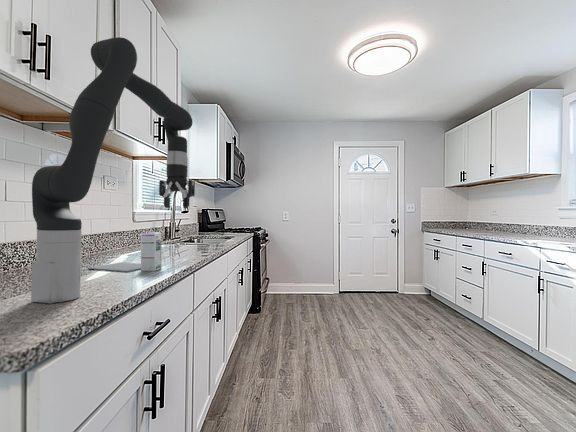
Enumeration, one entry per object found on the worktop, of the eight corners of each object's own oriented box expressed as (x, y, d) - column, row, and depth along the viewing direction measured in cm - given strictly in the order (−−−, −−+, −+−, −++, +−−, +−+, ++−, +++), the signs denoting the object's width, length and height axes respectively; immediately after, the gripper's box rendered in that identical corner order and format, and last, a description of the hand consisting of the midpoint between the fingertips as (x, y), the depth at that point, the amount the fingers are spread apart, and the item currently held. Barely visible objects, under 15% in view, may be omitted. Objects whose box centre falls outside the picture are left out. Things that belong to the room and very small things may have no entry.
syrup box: (155, 271, 126) (156, 232, 126) (140, 270, 126) (140, 232, 126) (161, 268, 132) (162, 232, 132) (146, 268, 132) (147, 231, 132)
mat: (127, 272, 122) (127, 270, 122) (87, 269, 127) (87, 267, 127) (155, 266, 138) (155, 264, 138) (119, 263, 142) (119, 262, 142)
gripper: (154, 163, 124) (153, 207, 124) (188, 162, 120) (187, 207, 120) (166, 166, 131) (166, 208, 131) (199, 165, 128) (198, 208, 128)
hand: (176, 207), depth 126 cm, fingers open, 7 cm apart
